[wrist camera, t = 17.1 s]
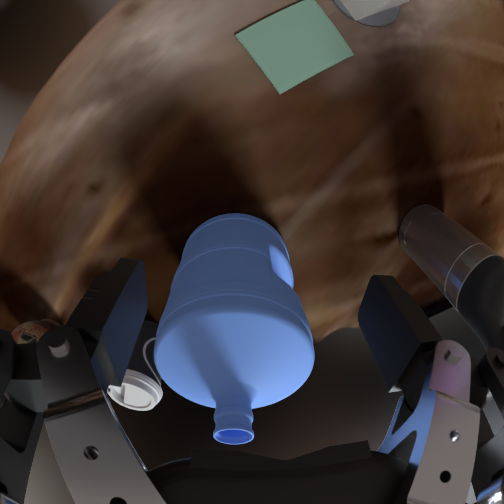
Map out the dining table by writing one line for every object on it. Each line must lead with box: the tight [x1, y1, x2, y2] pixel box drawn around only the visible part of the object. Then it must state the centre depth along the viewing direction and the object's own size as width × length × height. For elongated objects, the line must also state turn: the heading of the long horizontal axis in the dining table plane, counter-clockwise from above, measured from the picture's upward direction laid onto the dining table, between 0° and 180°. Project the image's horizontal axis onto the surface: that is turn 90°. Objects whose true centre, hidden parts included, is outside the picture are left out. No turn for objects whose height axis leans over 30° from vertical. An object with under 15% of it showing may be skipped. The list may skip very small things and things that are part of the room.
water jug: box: [154, 213, 314, 444], centre depth 31 cm, size 16×16×28 cm
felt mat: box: [235, 0, 354, 94], centre depth 29 cm, size 12×10×1 cm
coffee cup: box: [107, 320, 163, 411], centre depth 44 cm, size 10×10×15 cm
